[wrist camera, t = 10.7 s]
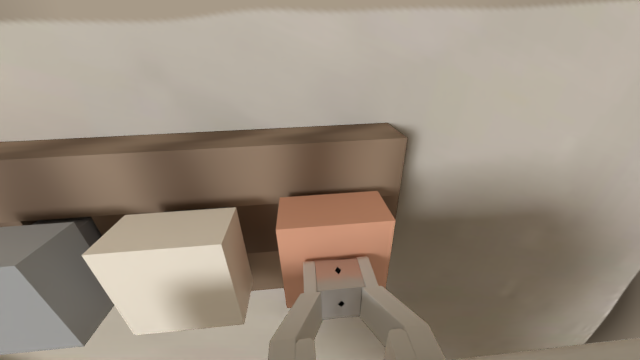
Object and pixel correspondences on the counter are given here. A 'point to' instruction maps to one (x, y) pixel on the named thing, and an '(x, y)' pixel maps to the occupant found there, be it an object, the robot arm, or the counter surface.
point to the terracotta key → (332, 234)
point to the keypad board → (200, 177)
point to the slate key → (49, 286)
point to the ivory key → (175, 269)
